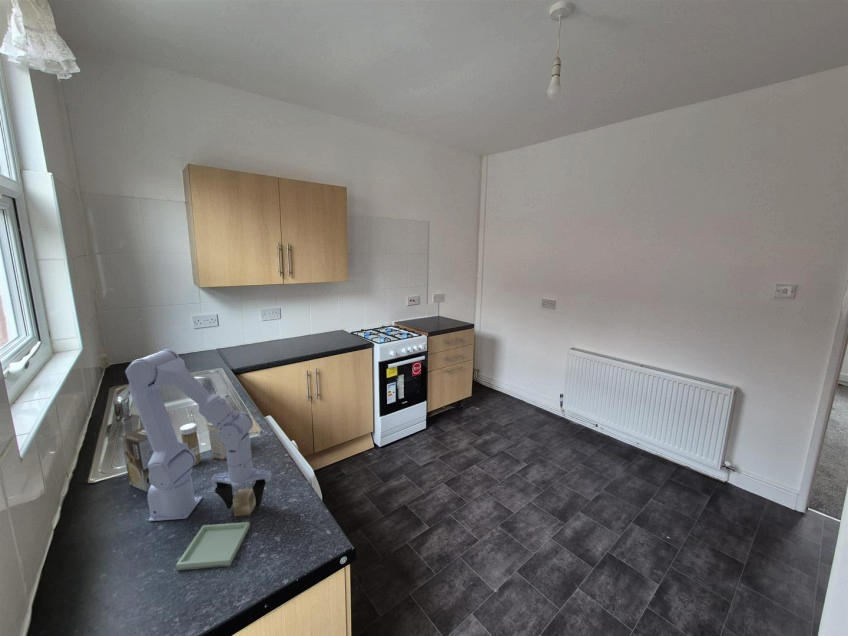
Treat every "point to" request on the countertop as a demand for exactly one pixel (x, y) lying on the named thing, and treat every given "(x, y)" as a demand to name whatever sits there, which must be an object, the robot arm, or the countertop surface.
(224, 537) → the tray
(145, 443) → the coffee box
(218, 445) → the supplement box
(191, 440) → the sprinkles bottle
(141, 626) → the countertop surface
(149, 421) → the robot arm
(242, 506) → the beech block
